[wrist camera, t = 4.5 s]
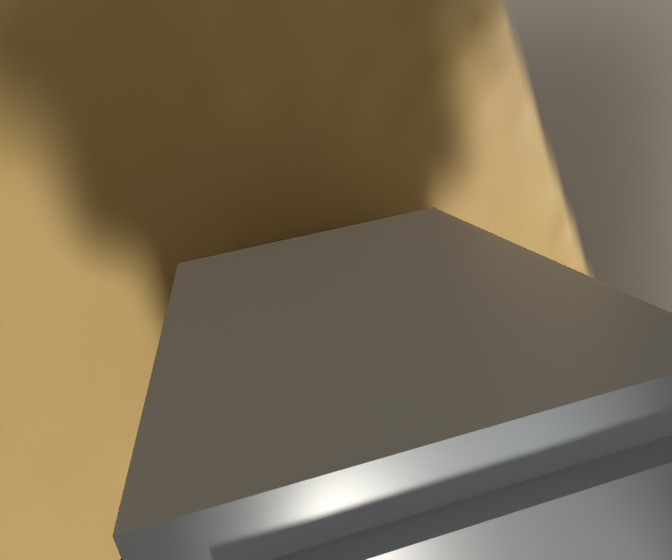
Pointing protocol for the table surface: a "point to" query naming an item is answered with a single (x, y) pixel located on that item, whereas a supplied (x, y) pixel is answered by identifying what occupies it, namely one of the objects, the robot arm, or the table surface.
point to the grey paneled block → (402, 406)
